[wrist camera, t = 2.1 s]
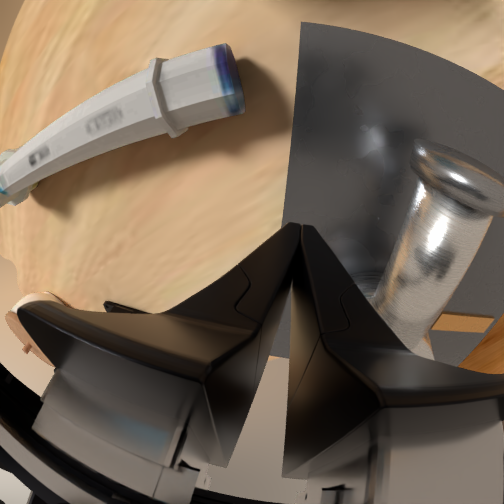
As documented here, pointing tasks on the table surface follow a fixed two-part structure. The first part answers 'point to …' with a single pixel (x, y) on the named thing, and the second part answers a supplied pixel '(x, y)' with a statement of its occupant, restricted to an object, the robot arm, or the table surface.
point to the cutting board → (388, 164)
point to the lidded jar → (19, 329)
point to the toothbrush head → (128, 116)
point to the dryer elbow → (436, 240)
